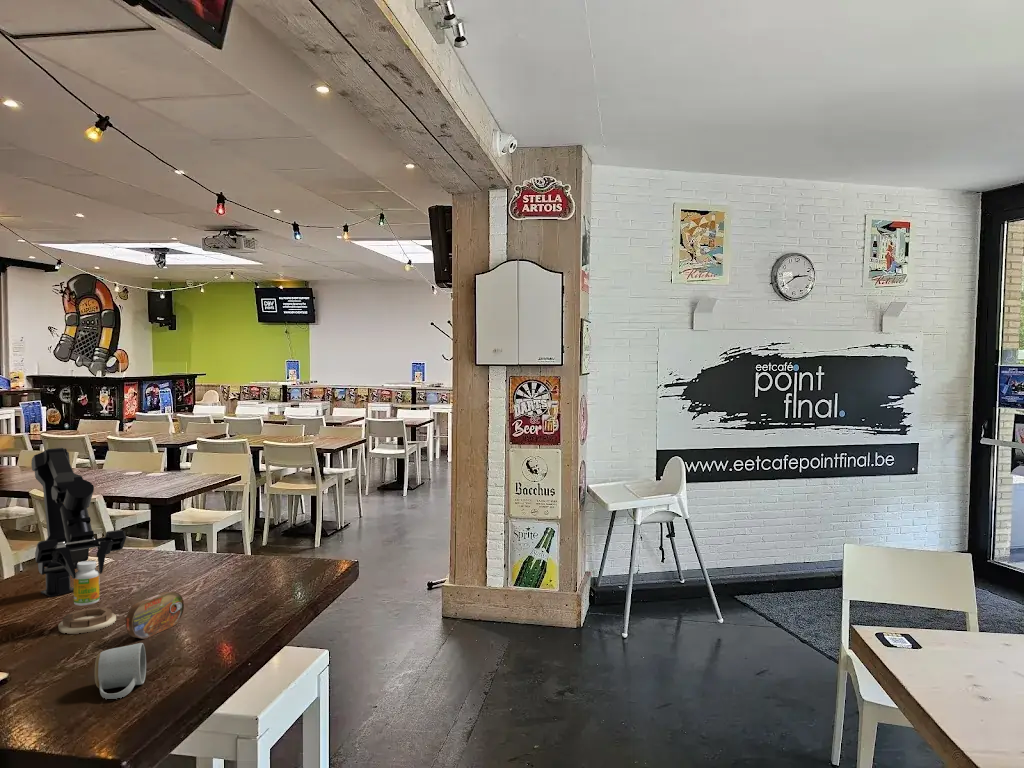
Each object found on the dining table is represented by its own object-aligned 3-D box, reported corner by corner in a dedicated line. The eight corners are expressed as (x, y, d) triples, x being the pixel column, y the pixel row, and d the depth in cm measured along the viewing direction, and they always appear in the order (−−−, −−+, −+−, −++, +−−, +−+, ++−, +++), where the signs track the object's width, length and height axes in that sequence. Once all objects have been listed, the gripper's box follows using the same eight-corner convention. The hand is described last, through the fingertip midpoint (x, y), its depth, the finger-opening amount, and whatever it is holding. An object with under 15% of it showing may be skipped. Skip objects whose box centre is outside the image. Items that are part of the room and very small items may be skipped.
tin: (133, 644, 160) (132, 607, 160) (123, 642, 161) (122, 605, 161) (185, 621, 174) (184, 587, 174) (175, 620, 175) (174, 586, 175)
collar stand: (49, 626, 171) (49, 616, 171) (101, 612, 180) (101, 602, 180) (72, 637, 164) (72, 627, 164) (125, 622, 173) (125, 612, 173)
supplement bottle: (75, 607, 168) (75, 566, 168) (71, 601, 172) (71, 561, 172) (101, 603, 172) (101, 563, 171) (97, 597, 176) (97, 558, 176)
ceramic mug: (101, 680, 141) (100, 642, 141) (147, 674, 144) (146, 636, 144) (90, 705, 131) (89, 664, 131) (139, 697, 134) (138, 658, 134)
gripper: (112, 534, 189) (124, 584, 182) (28, 546, 176) (38, 601, 169) (119, 509, 183) (133, 560, 175) (33, 520, 170) (43, 576, 163)
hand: (88, 575), depth 171 cm, fingers closed on supplement bottle, 5 cm apart
